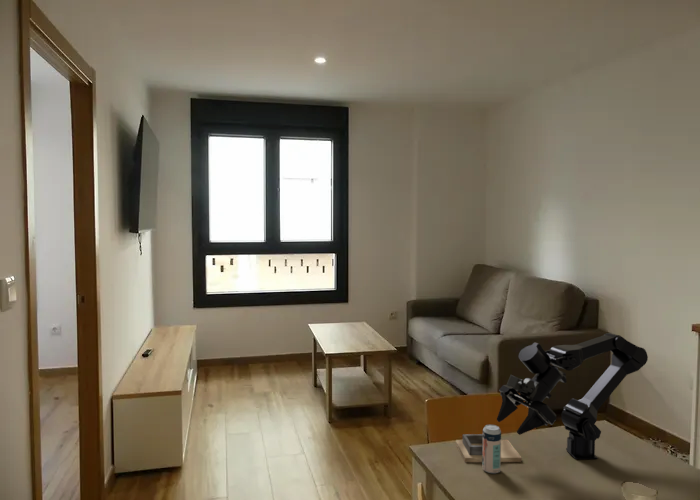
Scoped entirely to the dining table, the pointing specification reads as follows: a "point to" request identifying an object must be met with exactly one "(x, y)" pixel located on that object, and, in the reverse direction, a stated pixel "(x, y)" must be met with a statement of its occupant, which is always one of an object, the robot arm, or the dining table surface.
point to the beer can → (491, 449)
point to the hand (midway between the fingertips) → (507, 427)
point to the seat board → (474, 449)
